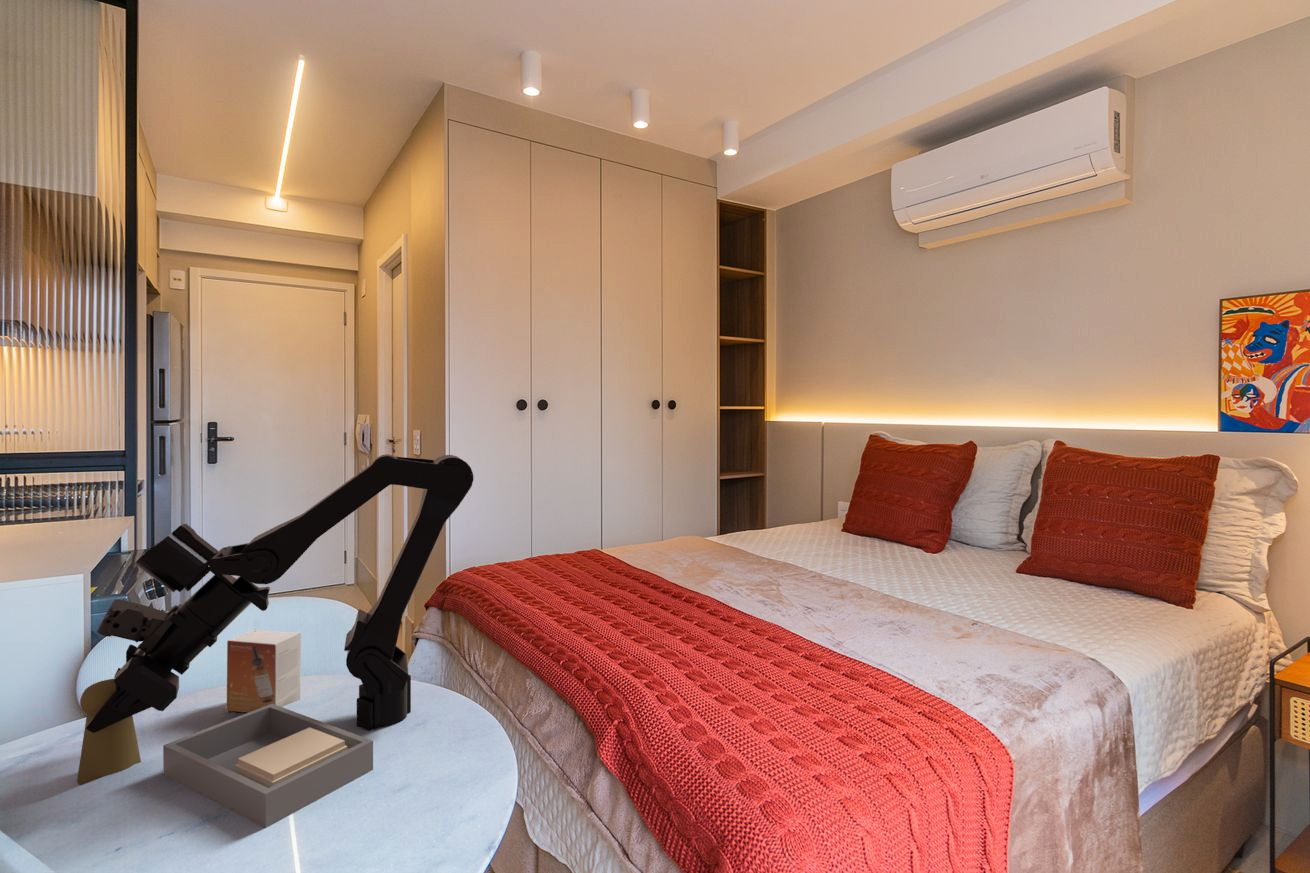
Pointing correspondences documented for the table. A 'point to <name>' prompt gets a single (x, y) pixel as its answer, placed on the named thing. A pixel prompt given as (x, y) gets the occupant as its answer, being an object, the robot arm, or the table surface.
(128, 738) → the cork
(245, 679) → the small box
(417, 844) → the table surface
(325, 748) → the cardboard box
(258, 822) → the tray
